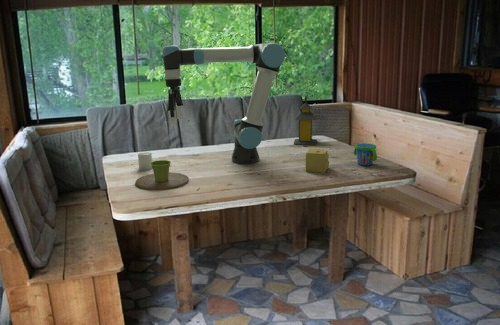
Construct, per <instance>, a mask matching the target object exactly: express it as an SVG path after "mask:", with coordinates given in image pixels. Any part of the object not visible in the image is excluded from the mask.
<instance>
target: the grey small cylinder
mask: <svg viewBox="0 0 500 325" xmlns="http://www.w3.org/2000/svg"><path fill="white" fill-rule="evenodd" d="M152 154H153V153H152V152H150V151H149V152H148V151H147V152H146V151H145V152H140V153H139V152H138V153H137V159H138V160H137V162H138V170H139V171H146V172H147V171H150V170H153V168H152V165H151V164H150V163H151V162H153V156H152Z"/></svg>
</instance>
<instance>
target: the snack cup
mask: <svg viewBox="0 0 500 325" xmlns="http://www.w3.org/2000/svg"><path fill="white" fill-rule="evenodd" d="M354 145H355V146H354V150H353V154H354V156H356V161H357V165H360V166H371V165H373V163H374V162H376V161H377V159H378V156H377V155H378V154H377V151H376V149H377V145H375V144H373V143H357V144H354Z"/></svg>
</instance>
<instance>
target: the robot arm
mask: <svg viewBox="0 0 500 325" xmlns="http://www.w3.org/2000/svg"><path fill="white" fill-rule="evenodd" d="M162 56H163V57H162V58H163V67H164V71H163V74H164V77H165V80H164V81H165V86H166V87H167V88H169V89H168V90H167V94H168V98H167V101H168V102H167V111H168V112H169V119H170V120H169V121H170V125H175V124H176V125H177V120H182V119H183V118H184V117H183V106H184V102H183V98H182V93H181V88H180V87H181V86H182V79H181V76H182V75H181V74H182V73H181V66H193V65H194V66H195V65H203V64H211V63H212V64H213V63H244V62H245V63H248V62H250V63H251V64H256V66H255V67H256V69H257V74H256V77H255V81H254V84H253V89H252V91H251V95H250V100H249V103H248V106H247V111H246V114H245V117H243V118H239V119H235V120H234V121H233V135H234V136H233V138H234V147H233V148H234V149H233V151H232V155H231V162H232V163H234V164H243V165H246V164H247V165H248V164H254V163H255V164H256V163H257V162H259V161H260V155H259V151H258V149H257V147H259V145H260V144H261V143H262V140H263V138H262V137H263V134H262V132H263V128H264V123H263V118H264V114H265V111H266V107H267V103H268V99H269V96H270V93H271V89H272V85H273V82H274V80H275V76H276V75H278V74H279V72H280V70H281V69H280V68H281V66H282V65H283V63H284V61H285V59H286V52H285V50H284V48H283V47H282V46H281V45H280V44H279V43H276V42H273V41H271V42H270V41H269V42H263V43H259V44H258V43H257V44H250V46H228V47H227V46H225V47H223V46H222V47H221V46H220V47H188V48H185V49H179V46H178V45H165V46H163V47H162Z"/></svg>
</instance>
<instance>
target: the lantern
mask: <svg viewBox="0 0 500 325" xmlns="http://www.w3.org/2000/svg"><path fill="white" fill-rule="evenodd" d="M307 100H308V95H304V103H303V104H302V105H301V106H300V108H299V109H300V111H299V113H297V115H296V116H295V117H294V121H295V120H296V121H298V138H295V139H294V141H293V145H294V146H317V142H318V139H316V138H313V121H316V120H317V119H318V118H317V116H316V114H315V113H314V112H312V111H311V109H312V106H311V105H310V104H309V103H308V101H307Z"/></svg>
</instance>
